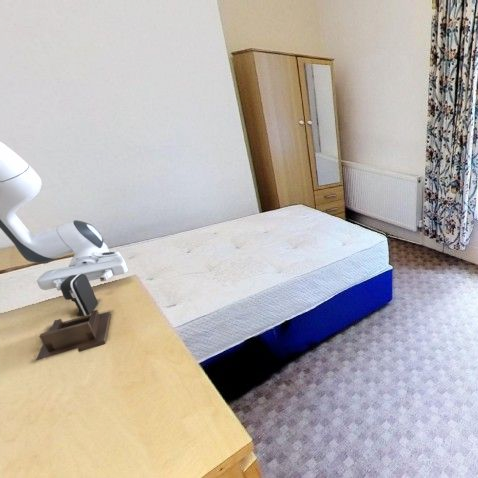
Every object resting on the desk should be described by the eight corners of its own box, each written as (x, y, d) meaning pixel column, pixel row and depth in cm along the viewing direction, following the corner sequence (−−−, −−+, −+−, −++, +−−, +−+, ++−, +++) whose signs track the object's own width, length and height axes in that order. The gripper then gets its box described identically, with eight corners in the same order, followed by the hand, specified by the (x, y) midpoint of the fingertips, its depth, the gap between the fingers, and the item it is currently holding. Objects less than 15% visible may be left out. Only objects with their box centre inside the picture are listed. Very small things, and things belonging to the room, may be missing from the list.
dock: (38, 363, 77) (26, 343, 74) (52, 330, 88) (42, 311, 85) (105, 343, 84) (96, 324, 81) (111, 314, 95) (103, 297, 92)
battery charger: (83, 305, 98) (67, 273, 93) (99, 303, 99) (85, 271, 95) (72, 319, 92) (55, 285, 88) (89, 315, 94) (73, 282, 89)
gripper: (39, 265, 101) (26, 284, 91) (124, 250, 113) (122, 265, 103) (47, 282, 104) (36, 303, 94) (130, 266, 116) (128, 282, 106)
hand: (82, 283), depth 99 cm, fingers open, 8 cm apart
